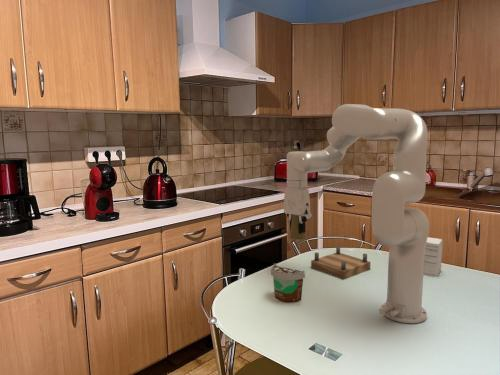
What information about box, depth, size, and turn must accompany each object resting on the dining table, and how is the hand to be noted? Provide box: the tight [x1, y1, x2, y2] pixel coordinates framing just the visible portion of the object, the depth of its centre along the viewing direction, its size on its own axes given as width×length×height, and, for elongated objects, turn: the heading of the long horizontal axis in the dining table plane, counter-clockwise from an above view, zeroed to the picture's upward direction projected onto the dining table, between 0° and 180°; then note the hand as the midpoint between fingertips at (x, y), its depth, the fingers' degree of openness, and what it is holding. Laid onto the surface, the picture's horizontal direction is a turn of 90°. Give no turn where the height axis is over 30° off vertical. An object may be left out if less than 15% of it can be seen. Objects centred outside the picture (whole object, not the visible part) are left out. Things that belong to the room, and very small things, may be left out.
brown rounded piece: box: [289, 214, 306, 240], centre depth 150 cm, size 6×6×11 cm
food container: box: [270, 263, 306, 304], centre depth 126 cm, size 12×6×10 cm, turn 47°
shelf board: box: [310, 245, 371, 280], centre depth 153 cm, size 16×16×6 cm
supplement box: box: [423, 236, 444, 278], centre depth 148 cm, size 7×7×13 cm
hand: (297, 231), depth 150 cm, fingers closed on brown rounded piece, 3 cm apart
